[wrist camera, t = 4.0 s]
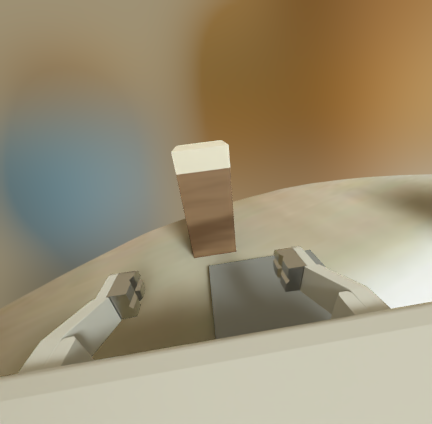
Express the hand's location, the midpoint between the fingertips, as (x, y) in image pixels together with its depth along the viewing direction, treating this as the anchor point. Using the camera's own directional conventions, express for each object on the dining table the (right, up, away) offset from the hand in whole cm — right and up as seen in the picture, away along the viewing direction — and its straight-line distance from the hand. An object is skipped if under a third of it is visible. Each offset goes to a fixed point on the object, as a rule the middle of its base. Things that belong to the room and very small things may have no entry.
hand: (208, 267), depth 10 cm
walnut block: (0, -1, +12) cm, 12 cm away
